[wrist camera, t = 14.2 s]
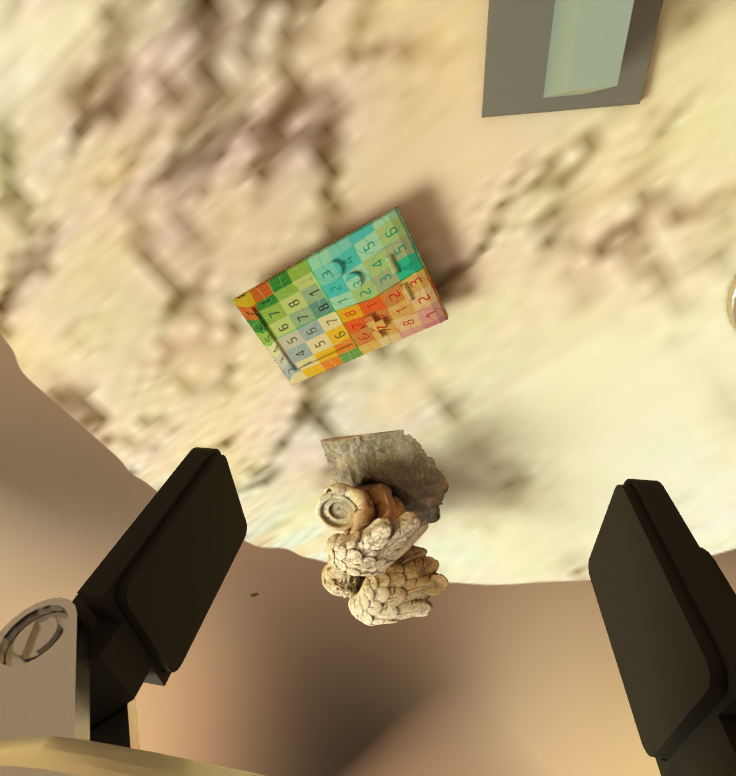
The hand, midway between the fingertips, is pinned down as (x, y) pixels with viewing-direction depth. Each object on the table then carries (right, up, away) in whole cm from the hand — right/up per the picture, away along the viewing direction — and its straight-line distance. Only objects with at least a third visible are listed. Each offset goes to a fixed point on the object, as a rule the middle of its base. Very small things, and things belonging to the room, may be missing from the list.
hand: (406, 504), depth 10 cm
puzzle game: (-4, +13, +36) cm, 39 cm away
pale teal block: (+14, +31, +20) cm, 39 cm away
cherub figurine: (+2, -10, +50) cm, 51 cm away
